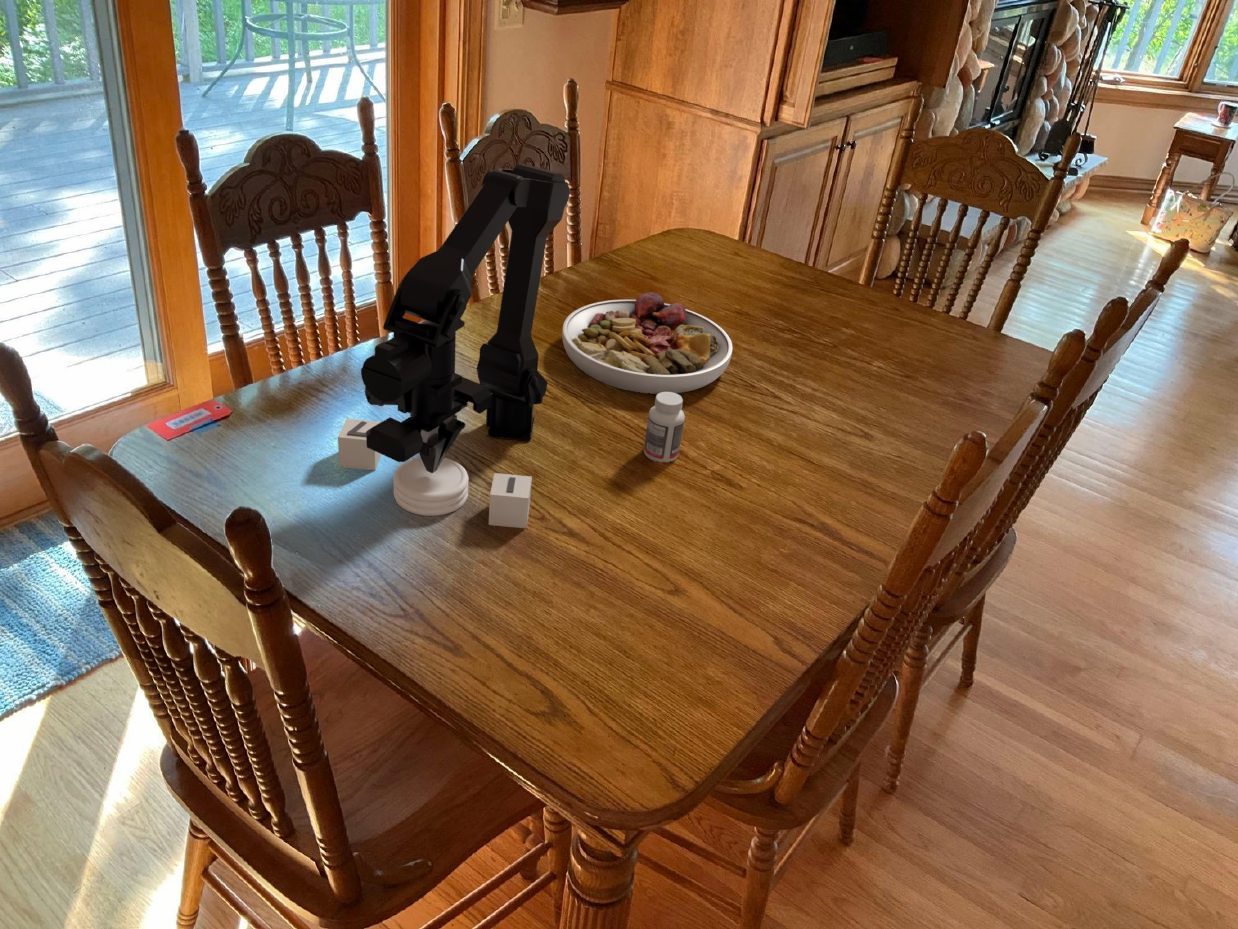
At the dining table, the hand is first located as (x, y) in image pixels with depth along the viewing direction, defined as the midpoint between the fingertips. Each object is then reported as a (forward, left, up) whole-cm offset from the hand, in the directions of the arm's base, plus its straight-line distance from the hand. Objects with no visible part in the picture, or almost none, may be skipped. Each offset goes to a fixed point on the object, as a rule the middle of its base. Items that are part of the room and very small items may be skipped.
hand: (431, 471), depth 131 cm
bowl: (-30, -47, -4) cm, 56 cm away
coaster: (0, 0, -4) cm, 4 cm away
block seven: (+11, -7, -4) cm, 14 cm away
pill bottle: (-32, -16, -4) cm, 36 cm away
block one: (-11, +3, -4) cm, 12 cm away
